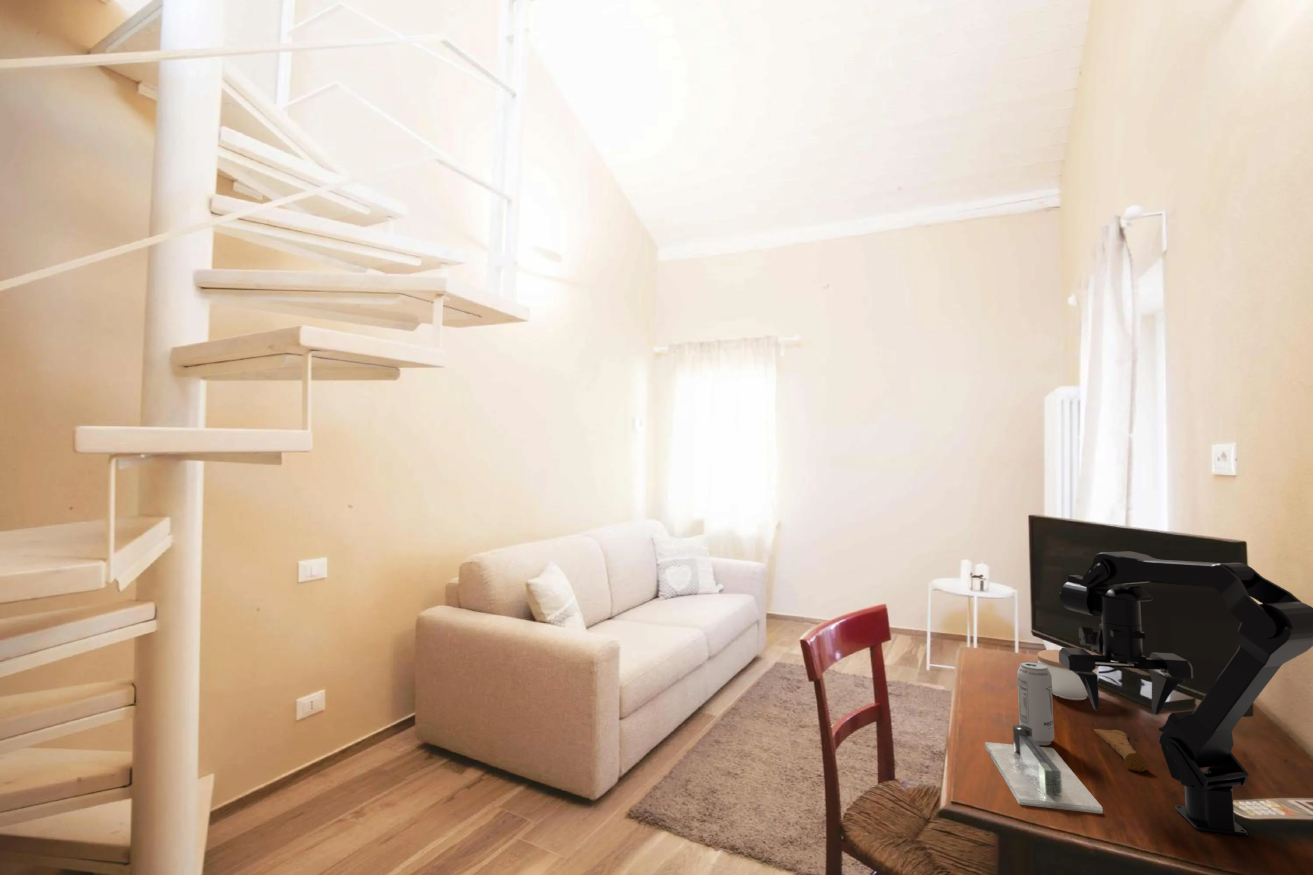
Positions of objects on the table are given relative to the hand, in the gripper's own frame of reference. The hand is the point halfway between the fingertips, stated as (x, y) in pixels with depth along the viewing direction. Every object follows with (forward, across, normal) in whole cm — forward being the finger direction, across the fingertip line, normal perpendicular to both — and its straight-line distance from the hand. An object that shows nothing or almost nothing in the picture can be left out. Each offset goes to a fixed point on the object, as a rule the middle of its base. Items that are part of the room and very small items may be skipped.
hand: (1125, 711), depth 112 cm
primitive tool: (+13, -4, -14) cm, 20 cm away
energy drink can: (+12, +10, -15) cm, 22 cm away
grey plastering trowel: (+12, +15, +2) cm, 19 cm away
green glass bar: (+11, +14, +3) cm, 18 cm away
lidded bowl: (+12, -6, -45) cm, 47 cm away
